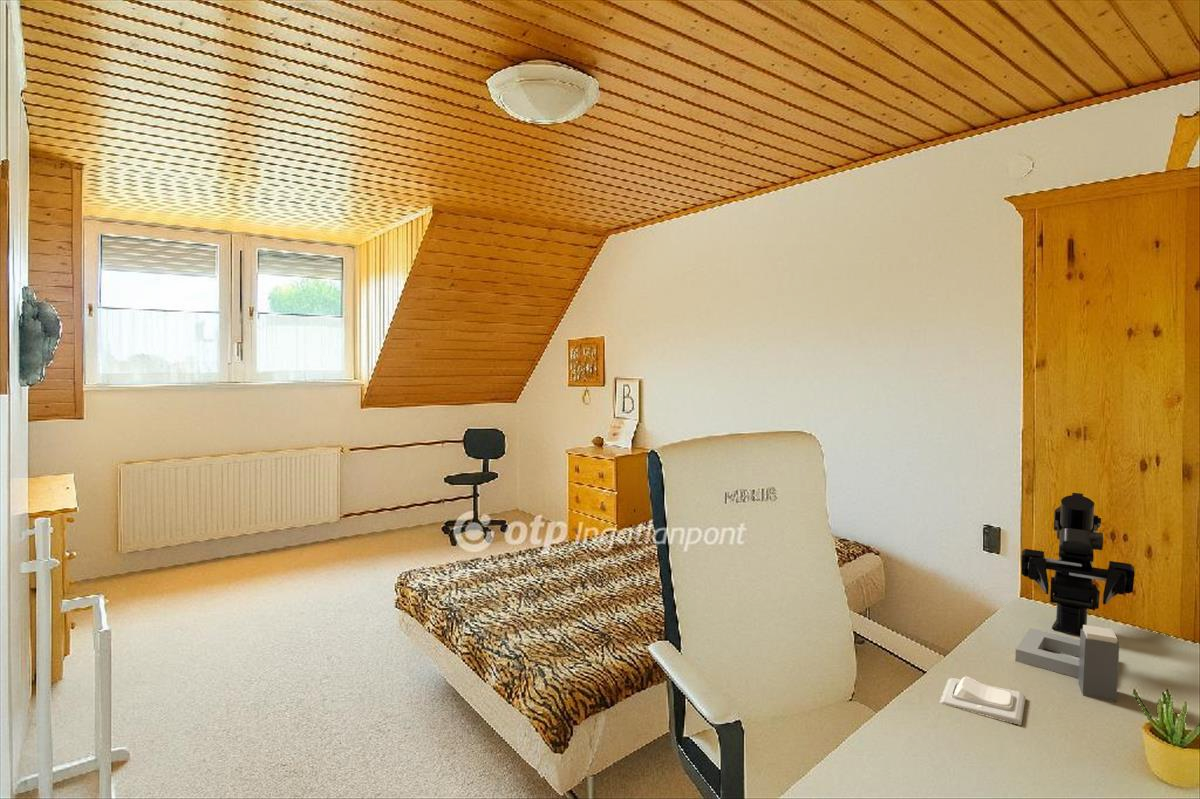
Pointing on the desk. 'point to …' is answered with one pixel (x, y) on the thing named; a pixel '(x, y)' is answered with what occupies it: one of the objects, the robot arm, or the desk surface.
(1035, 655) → the socket plate
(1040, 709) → the desk surface
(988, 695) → the light switch
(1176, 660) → the desk surface
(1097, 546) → the robot arm
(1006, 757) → the desk surface
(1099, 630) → the plug
